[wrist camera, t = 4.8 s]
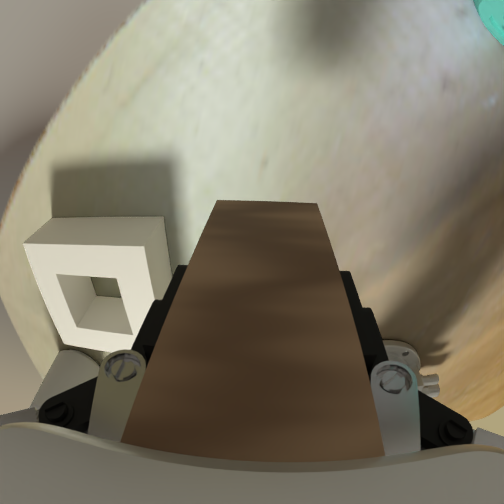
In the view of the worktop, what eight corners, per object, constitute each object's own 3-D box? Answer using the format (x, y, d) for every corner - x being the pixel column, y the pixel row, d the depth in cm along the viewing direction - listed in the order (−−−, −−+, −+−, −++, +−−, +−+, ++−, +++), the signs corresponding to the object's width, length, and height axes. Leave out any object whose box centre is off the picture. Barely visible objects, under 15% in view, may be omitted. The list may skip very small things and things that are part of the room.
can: (56, 338, 35) (17, 407, 25) (104, 356, 36) (71, 433, 26) (63, 369, 39) (33, 433, 29) (108, 386, 40) (82, 455, 30)
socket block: (163, 216, 26) (144, 246, 22) (180, 323, 32) (169, 359, 28) (51, 217, 26) (22, 243, 22) (82, 313, 32) (64, 343, 28)
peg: (317, 203, 14) (391, 497, 3) (308, 286, 16) (331, 538, 6) (217, 200, 14) (107, 481, 4) (220, 282, 16) (166, 529, 6)
